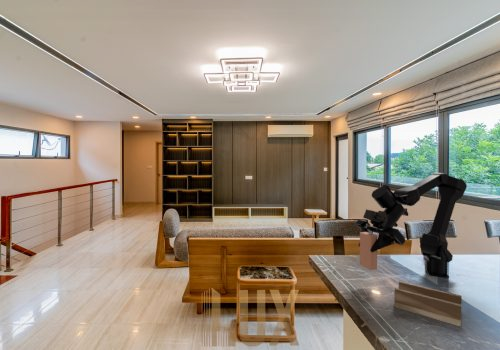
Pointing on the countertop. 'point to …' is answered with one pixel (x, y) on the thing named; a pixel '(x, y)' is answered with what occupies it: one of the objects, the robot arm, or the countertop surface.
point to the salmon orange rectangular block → (368, 251)
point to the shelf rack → (429, 302)
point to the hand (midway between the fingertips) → (365, 249)
